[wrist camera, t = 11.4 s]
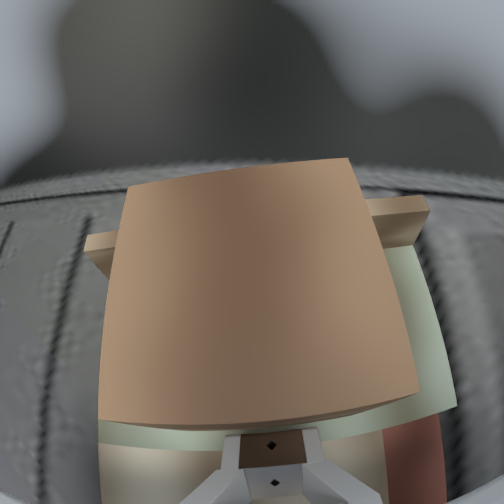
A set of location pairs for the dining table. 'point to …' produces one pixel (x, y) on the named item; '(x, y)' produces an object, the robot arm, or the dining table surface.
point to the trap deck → (330, 431)
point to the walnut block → (251, 303)
